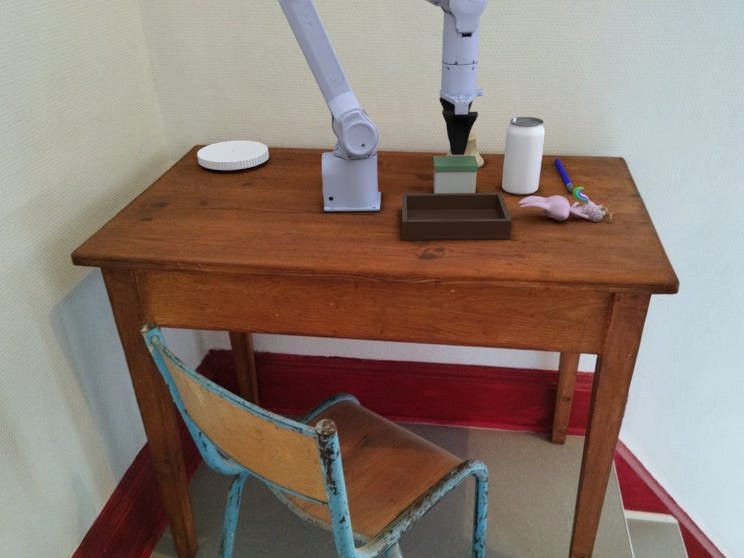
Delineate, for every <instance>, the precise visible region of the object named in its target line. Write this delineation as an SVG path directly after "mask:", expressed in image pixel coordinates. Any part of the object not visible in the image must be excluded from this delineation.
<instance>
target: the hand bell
mask: <svg viewBox="0 0 744 558" xmlns="http://www.w3.org/2000/svg"><path fill="white" fill-rule="evenodd" d="M472 107H473V102H472V103H471V105H470V107H469V109H468V112H471V108H472ZM445 156H475V157H476V160H477V164H478V168H480V167H482V166H483V165H485V161H484V158H483V157H482V156H481V155H480V153H479V151H478V147H477V136H476V135H475V134H474V133H473V132H472V131H470V134H469V138H468V142H467V147H466V150H465V153H464V155H452V153H451V149H450V148H449V151H448V153H447V154H446V155H445Z"/></svg>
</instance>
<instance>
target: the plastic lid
mask: <svg viewBox="0 0 744 558" xmlns="http://www.w3.org/2000/svg"><path fill="white" fill-rule="evenodd" d="M196 157H197V162H198V164H199V165H200V166H201V167H203V168H205V169H210V170H214V171H215V170H217V171H218V170H219V171H236V170H241V169H242V170H243V169H247V168H248V169H249V168H252V167H256V166H258V165H259V166H260V165H262V164H264V163H265V162H267V161H268V160H269V158H270V153H269V147H268V146H267V145H266V144H265V143H263V142H259V141H254V140H243V139H242V140H241V139H240V140H238V139H237V140H227V141H219V142H215V143H212V144H208V145H206V146H203V147H201V148H200V149H199V150H198V151H197V152H196Z"/></svg>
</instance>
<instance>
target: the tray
mask: <svg viewBox="0 0 744 558" xmlns="http://www.w3.org/2000/svg"><path fill="white" fill-rule="evenodd" d="M511 231H512V217H511V214H510V212H509V209H508V206H507V203H506V201H505V198H504V195H503V193H502V192H475V193H434V192H432V193H401V240H402V241H465V240H466V241H468V240H470V241H471V240H474V241H475V240H476V241H477V240H487V241H488V240H511Z"/></svg>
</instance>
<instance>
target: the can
mask: <svg viewBox="0 0 744 558" xmlns="http://www.w3.org/2000/svg"><path fill="white" fill-rule="evenodd" d="M545 133H546V130H545V127H544V120H543V119H541V118H540V117H534V116H517V117H513V118H511V119H510V120H509V125H508V127H507V129H506V133H505V145H504V154H503V155H504V157H503V167H502V179H501V188H502V190H503V191H504V192H506V193H508V194H510V195H515V196H528V195H533V194H535V193H536V192H537V191H538V190H539V185H540V176H541V169H542V160H543V152H544V143H545V135H546V134H545Z"/></svg>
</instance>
